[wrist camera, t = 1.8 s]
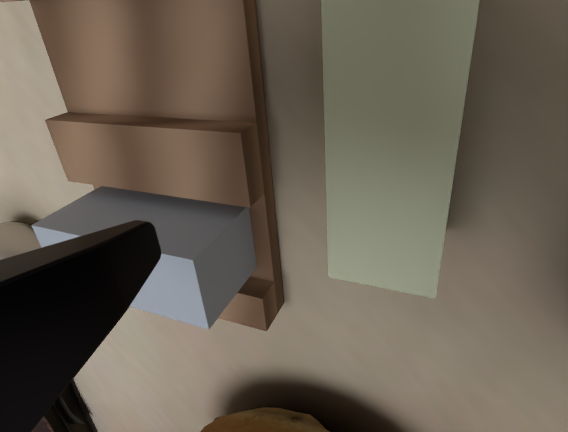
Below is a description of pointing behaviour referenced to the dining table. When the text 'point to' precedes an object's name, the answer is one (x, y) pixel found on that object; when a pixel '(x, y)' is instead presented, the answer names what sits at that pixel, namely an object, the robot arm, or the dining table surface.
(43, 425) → the diary
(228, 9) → the slot rack
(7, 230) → the plastic bottle
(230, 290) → the slate block
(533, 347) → the dining table surface
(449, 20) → the sage block
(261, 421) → the ceramic pitcher
